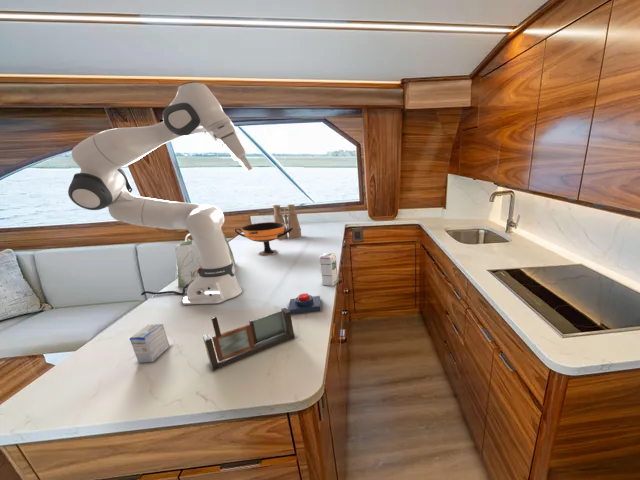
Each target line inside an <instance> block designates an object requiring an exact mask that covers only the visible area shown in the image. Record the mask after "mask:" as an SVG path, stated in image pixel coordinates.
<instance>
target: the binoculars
mask: <svg viewBox="0 0 640 480" xmlns="http://www.w3.org/2000/svg"><path fill="white" fill-rule="evenodd" d="M272 207H273V211H274V214H273V215H272V216H273V222H279V223H284V224H285V227H284V231H288V230H290V229H291V228H293V229H292V230H291V231H290V232H289V233H287V234H286V235H284V236H281V237H279V238H277V239H276V240H286V239H288V238H289V239H290V240H297V239H298V240H299V239H302V237H303V236H302V228H301V225H300V222H299V218H298V214H297V213H296V207H295V204H287V206H286V207H281V204H273V205H272ZM282 209H283V212H284V213H282V211H281V210H282ZM286 209H287V210H288V214H287V211H286Z"/></svg>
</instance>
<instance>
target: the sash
mask: <svg viewBox="0 0 640 480" xmlns="http://www.w3.org/2000/svg"><path fill="white" fill-rule="evenodd" d="M210 321H211V323H212V326H213V331H214V335H213V336H212V337H211V339H212V343H213V347H214V350H215V354H216V357H217V358H218V361H219V362H220V361H222V360H225V359H227V358H230V357H232V356H235V355H237V354H240V353H243V352H245V351H248V350H250V349H253V348H255V344H254V340H253V335H252V330H251V326H250V324H249V323H248V324H246V325H243V326H240V327H237V328H234V329H231V330H228V331H225V332H222V331H221V328H220V325H219V321H218V317H217V316H212V317H211V318H210ZM221 332H222V333H221Z"/></svg>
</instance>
